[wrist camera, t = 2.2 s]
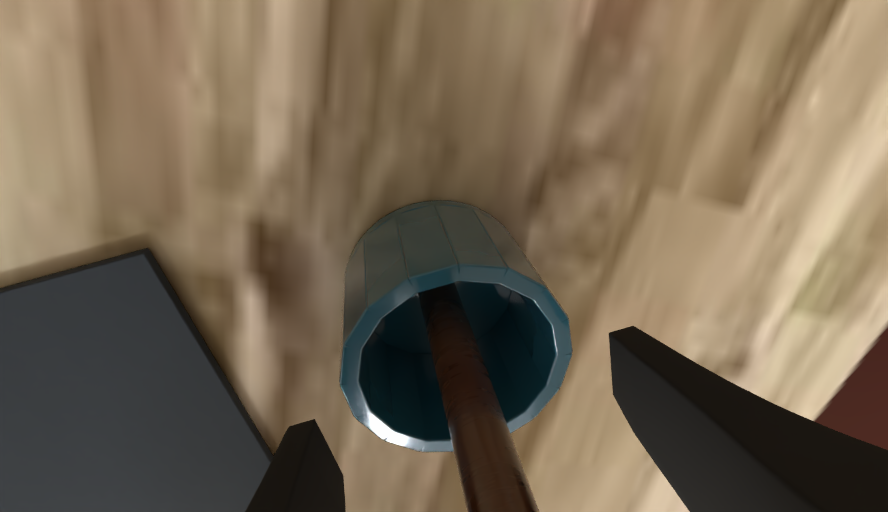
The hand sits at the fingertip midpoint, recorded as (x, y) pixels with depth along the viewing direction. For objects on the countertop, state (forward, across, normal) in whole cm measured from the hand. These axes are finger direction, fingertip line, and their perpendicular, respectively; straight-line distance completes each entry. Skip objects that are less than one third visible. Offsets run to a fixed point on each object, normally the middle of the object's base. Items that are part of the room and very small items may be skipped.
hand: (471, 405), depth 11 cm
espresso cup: (+6, 0, 0) cm, 6 cm away
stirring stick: (+5, 0, 0) cm, 5 cm away
